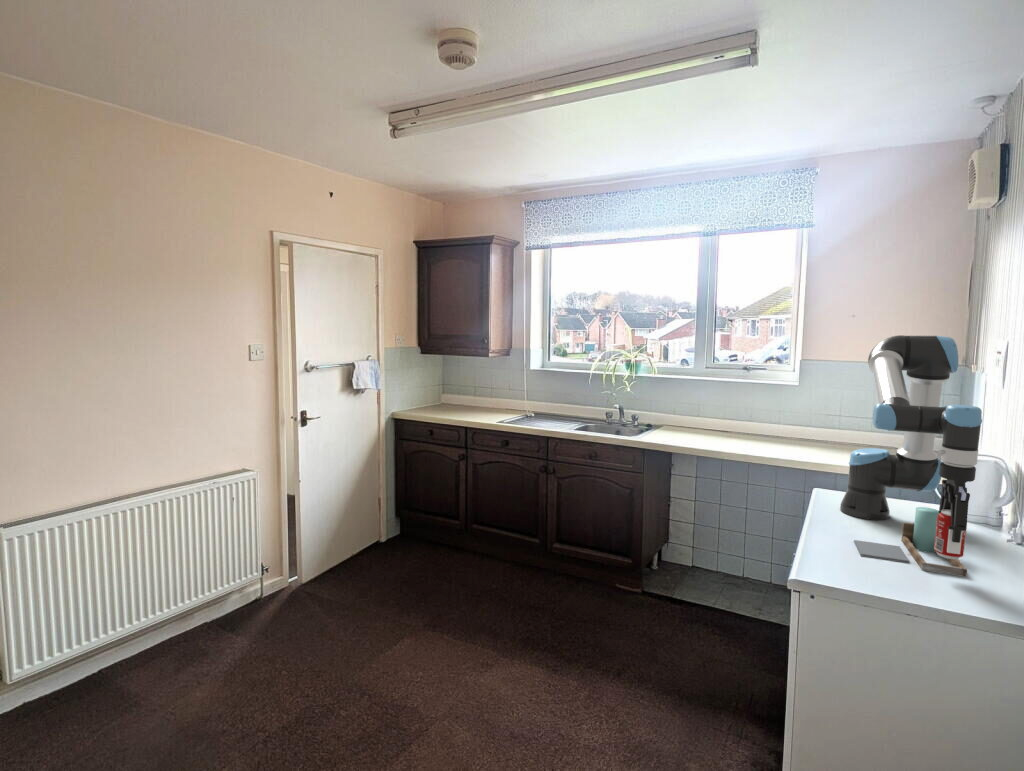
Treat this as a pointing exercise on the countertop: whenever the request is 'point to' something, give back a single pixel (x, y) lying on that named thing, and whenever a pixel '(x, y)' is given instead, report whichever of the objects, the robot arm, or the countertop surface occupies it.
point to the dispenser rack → (907, 541)
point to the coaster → (881, 551)
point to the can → (925, 529)
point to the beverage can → (946, 536)
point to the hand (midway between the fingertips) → (949, 547)
